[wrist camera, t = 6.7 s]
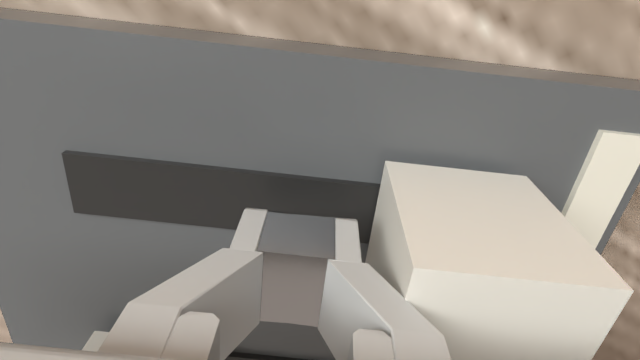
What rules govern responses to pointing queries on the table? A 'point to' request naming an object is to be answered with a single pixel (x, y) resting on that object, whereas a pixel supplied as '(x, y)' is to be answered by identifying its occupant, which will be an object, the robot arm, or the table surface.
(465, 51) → the table surface
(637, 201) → the table surface
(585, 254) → the tab
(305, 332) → the switch panel
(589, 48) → the table surface
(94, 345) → the tab
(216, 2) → the table surface
